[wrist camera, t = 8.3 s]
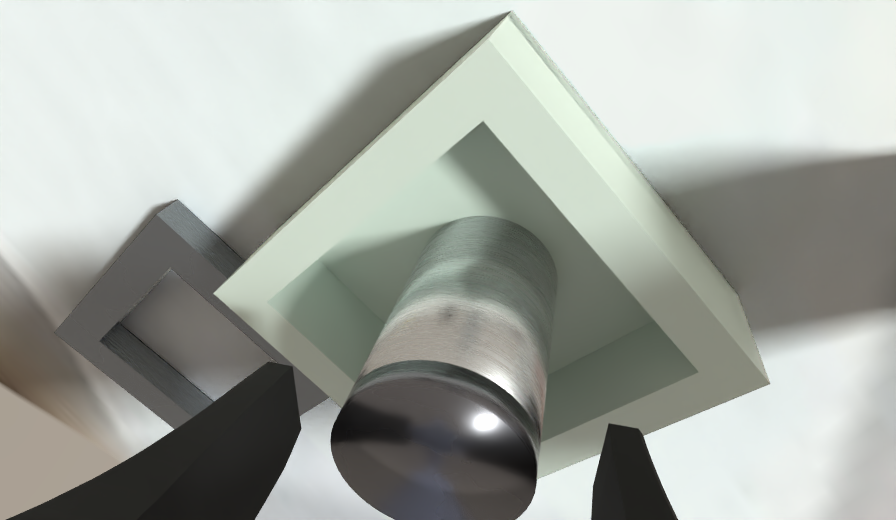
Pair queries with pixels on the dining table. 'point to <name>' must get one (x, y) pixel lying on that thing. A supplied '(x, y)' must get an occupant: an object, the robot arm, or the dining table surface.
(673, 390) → the bin
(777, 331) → the dining table surface
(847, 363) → the dining table surface
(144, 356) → the grey square frame
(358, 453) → the shiny metal cylinder
